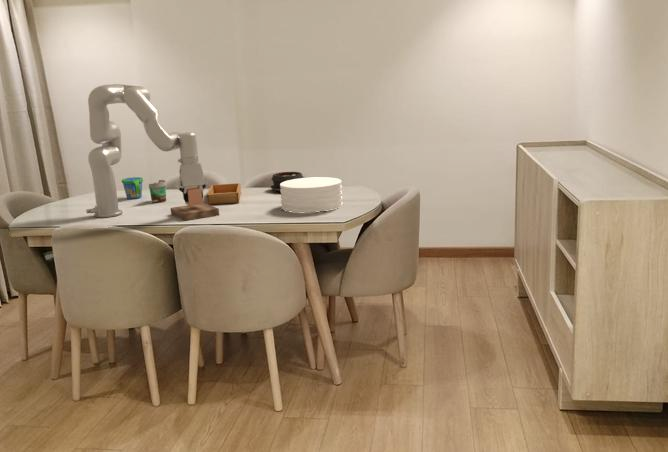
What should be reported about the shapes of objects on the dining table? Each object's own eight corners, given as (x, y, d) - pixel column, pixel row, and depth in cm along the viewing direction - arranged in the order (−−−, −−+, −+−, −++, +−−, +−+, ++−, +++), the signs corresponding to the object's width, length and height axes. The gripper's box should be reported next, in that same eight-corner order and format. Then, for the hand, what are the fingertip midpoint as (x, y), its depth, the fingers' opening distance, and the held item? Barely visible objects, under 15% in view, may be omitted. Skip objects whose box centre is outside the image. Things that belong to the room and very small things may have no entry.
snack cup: (148, 198, 358) (145, 179, 356) (127, 201, 354) (125, 181, 351) (141, 194, 372) (138, 175, 369) (121, 197, 367) (118, 178, 365)
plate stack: (270, 212, 311) (268, 186, 309) (299, 199, 336) (298, 176, 333) (326, 215, 300) (325, 188, 297) (352, 202, 324) (351, 177, 321)
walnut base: (184, 220, 302) (184, 214, 301) (171, 214, 317) (170, 207, 316) (219, 215, 310) (218, 208, 309) (204, 209, 325) (203, 202, 324)
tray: (212, 194, 363) (211, 184, 362) (241, 192, 364) (240, 182, 363) (207, 206, 333) (206, 194, 332) (239, 204, 334) (238, 192, 333)
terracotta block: (190, 205, 308) (188, 190, 306) (185, 203, 313) (183, 188, 311) (202, 203, 311) (201, 188, 309) (197, 201, 316) (196, 186, 314)
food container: (162, 203, 343) (159, 183, 340) (150, 204, 344) (148, 184, 342) (172, 198, 354) (170, 179, 352) (161, 199, 356) (159, 179, 353)
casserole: (302, 193, 352) (301, 177, 350) (266, 194, 353) (265, 178, 351) (308, 184, 376) (307, 169, 374) (274, 186, 378) (273, 170, 376)
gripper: (173, 163, 300) (178, 204, 304) (211, 159, 309) (214, 199, 313) (168, 162, 306) (172, 202, 310) (204, 157, 315) (208, 196, 319)
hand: (193, 200), depth 312 cm, fingers closed on terracotta block, 6 cm apart
